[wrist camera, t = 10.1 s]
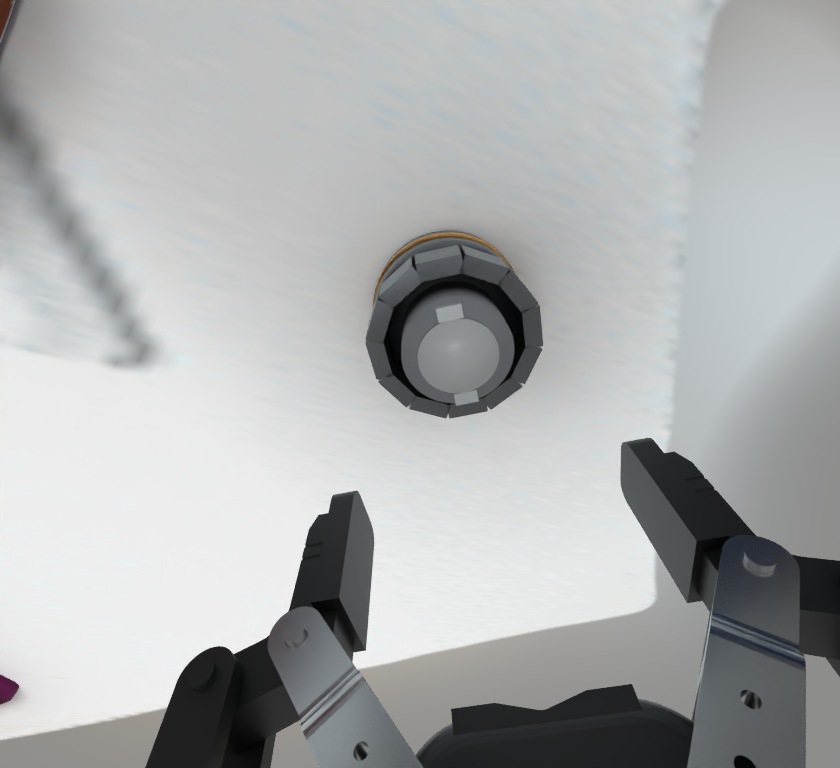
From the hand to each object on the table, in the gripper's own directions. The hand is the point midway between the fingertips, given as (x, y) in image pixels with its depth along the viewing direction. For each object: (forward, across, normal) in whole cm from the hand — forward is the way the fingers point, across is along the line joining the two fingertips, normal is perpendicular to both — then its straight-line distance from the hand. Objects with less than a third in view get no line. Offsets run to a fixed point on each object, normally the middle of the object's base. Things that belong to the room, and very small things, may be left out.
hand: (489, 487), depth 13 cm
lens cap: (+13, 0, 0) cm, 13 cm away
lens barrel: (+17, 0, 0) cm, 17 cm away
